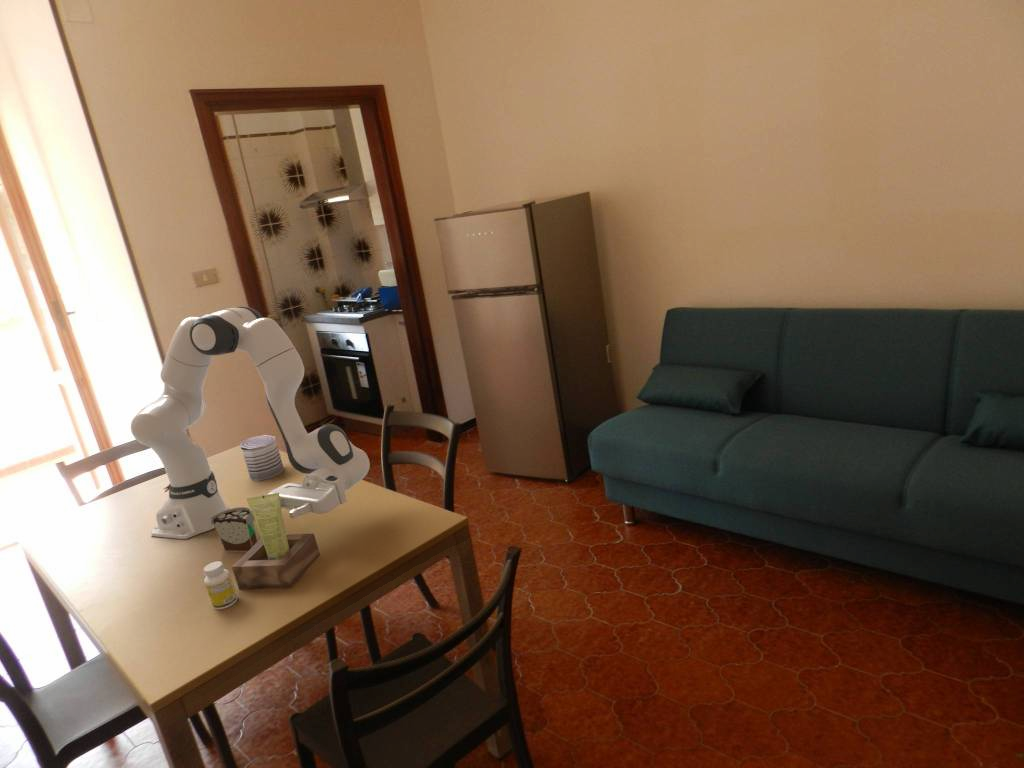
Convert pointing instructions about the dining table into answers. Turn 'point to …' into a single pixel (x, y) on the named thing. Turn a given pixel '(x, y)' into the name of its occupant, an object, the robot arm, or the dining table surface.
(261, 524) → the tube
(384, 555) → the dining table surface
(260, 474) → the can
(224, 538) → the food container
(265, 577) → the organiser
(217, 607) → the supplement bottle
